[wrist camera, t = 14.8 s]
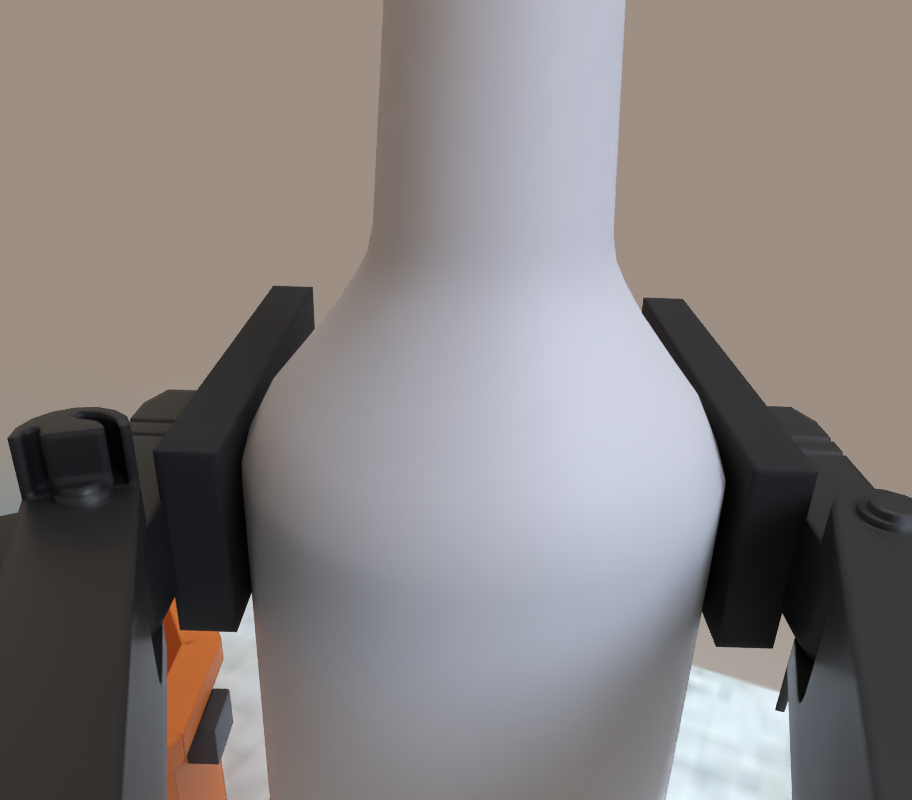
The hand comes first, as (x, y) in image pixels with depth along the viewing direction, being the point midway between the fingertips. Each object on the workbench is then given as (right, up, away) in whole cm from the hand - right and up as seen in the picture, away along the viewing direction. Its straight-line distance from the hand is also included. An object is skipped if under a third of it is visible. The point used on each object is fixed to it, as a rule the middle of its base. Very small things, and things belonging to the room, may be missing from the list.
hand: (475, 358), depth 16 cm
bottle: (0, -16, +2) cm, 16 cm away
